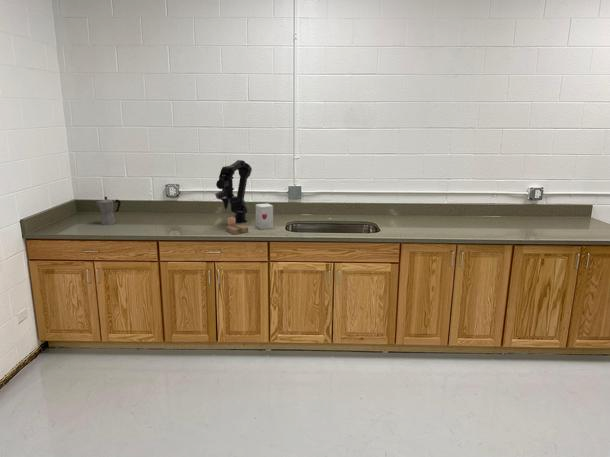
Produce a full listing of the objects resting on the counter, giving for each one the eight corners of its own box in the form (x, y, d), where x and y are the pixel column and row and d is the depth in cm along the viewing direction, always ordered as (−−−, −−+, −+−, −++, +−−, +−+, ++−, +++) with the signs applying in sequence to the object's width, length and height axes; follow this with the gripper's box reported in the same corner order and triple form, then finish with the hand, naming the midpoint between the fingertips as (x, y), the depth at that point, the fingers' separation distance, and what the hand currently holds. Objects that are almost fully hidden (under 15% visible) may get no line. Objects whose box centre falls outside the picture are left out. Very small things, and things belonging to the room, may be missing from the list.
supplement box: (260, 229, 295) (260, 206, 291) (255, 226, 303) (255, 204, 299) (273, 228, 299) (273, 205, 295) (268, 225, 307) (267, 203, 303)
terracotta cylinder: (233, 225, 305) (233, 216, 303) (236, 227, 301) (236, 218, 299) (226, 226, 302) (226, 217, 300) (230, 228, 298) (229, 219, 296)
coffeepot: (97, 225, 300) (94, 198, 296) (97, 222, 309) (94, 196, 304) (122, 223, 306) (120, 197, 301) (122, 220, 314) (119, 194, 310)
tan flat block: (240, 228, 296) (240, 224, 295) (248, 232, 288) (248, 227, 288) (226, 231, 290) (226, 226, 290) (233, 234, 283) (233, 229, 282)
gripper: (210, 185, 297) (211, 209, 301) (222, 189, 283) (223, 214, 287) (226, 183, 304) (227, 207, 308) (239, 188, 289) (239, 212, 293)
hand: (229, 210), depth 299 cm, fingers open, 9 cm apart
